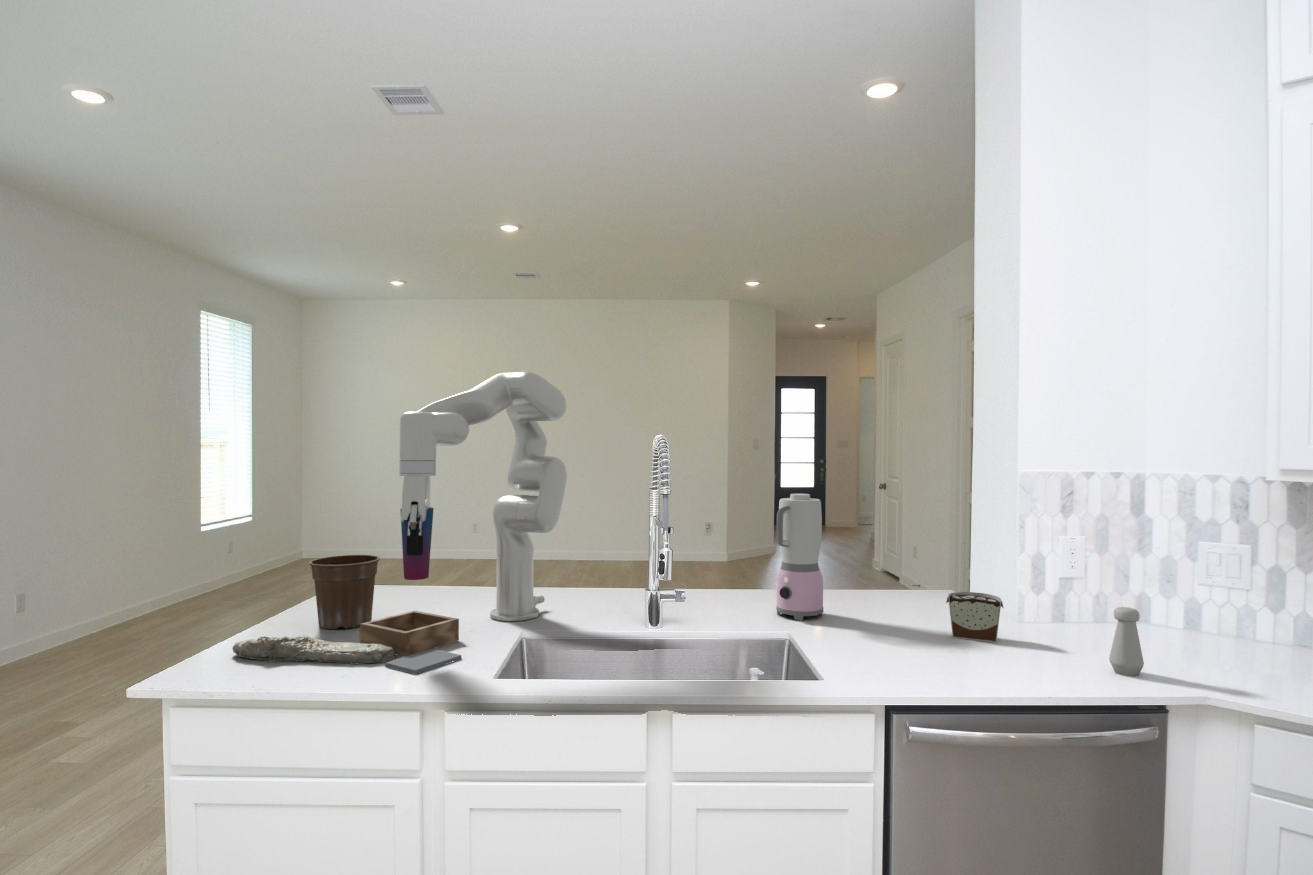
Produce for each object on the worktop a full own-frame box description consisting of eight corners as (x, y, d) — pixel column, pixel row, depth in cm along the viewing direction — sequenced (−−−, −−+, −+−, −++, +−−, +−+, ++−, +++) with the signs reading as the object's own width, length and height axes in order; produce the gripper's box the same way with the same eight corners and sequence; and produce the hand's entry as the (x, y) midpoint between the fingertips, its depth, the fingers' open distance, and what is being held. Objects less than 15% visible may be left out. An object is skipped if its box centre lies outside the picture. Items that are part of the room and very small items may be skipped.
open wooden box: (414, 631, 175) (414, 610, 175) (458, 640, 167) (458, 618, 167) (360, 646, 163) (360, 623, 163) (405, 657, 155) (405, 633, 155)
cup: (421, 581, 153) (422, 509, 154) (393, 579, 155) (393, 509, 155) (438, 575, 160) (439, 507, 160) (410, 574, 162) (411, 506, 162)
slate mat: (432, 652, 158) (432, 648, 158) (461, 658, 154) (461, 655, 154) (385, 666, 148) (385, 662, 148) (415, 674, 143) (415, 670, 143)
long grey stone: (380, 675, 148) (402, 663, 157) (382, 649, 148) (404, 638, 158) (218, 660, 151) (250, 649, 161) (221, 634, 151) (252, 624, 161)
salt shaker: (1102, 668, 149) (1102, 605, 149) (1129, 668, 149) (1129, 604, 149) (1123, 678, 143) (1123, 611, 143) (1150, 677, 144) (1150, 611, 144)
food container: (1003, 636, 173) (1003, 594, 173) (1003, 643, 168) (1003, 599, 168) (947, 630, 178) (947, 589, 178) (945, 636, 173) (946, 594, 173)
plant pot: (293, 628, 178) (293, 561, 178) (344, 613, 193) (345, 552, 193) (344, 635, 172) (345, 566, 172) (393, 619, 187) (393, 556, 187)
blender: (795, 607, 202) (795, 491, 202) (833, 615, 193) (833, 494, 193) (758, 616, 192) (759, 494, 192) (796, 625, 183) (797, 497, 183)
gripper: (405, 467, 165) (404, 547, 165) (393, 470, 149) (392, 559, 148) (439, 467, 167) (438, 546, 167) (431, 470, 150) (430, 558, 150)
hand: (416, 551), depth 158 cm, fingers closed on cup, 6 cm apart
